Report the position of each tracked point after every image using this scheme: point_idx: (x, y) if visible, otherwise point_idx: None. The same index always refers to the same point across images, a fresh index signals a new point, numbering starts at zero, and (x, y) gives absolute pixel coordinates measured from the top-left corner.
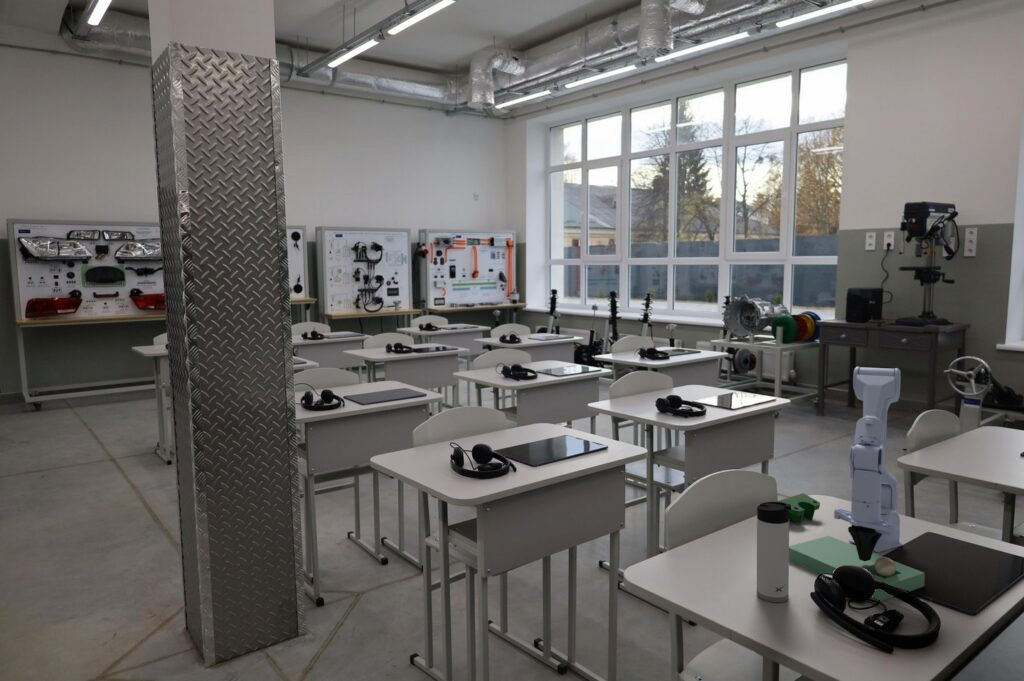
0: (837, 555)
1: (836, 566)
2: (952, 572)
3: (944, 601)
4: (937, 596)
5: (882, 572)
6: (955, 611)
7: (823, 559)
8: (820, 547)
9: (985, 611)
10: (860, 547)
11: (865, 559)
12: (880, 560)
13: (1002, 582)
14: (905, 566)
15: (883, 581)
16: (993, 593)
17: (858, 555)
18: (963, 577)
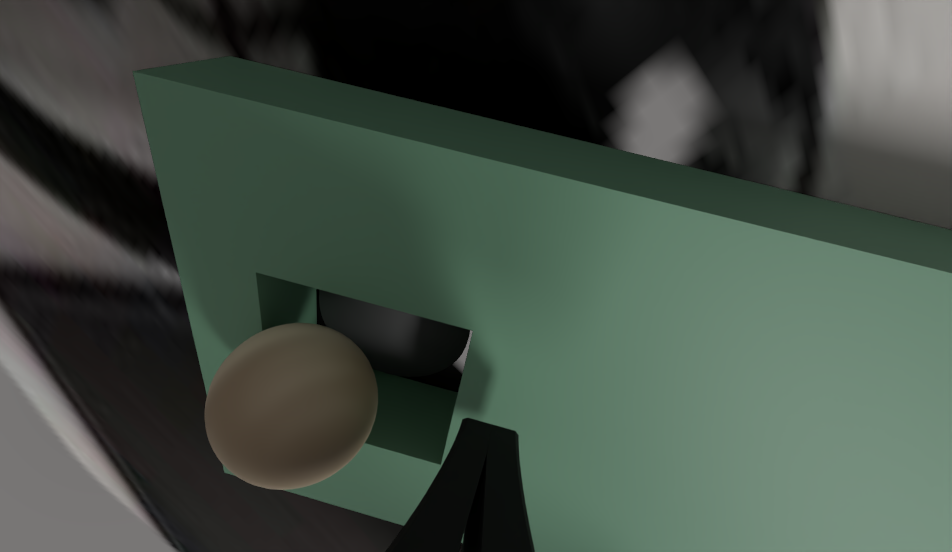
0: (732, 453)
1: (665, 240)
2: (308, 549)
3: (125, 323)
4: (175, 352)
5: (282, 328)
6: (25, 256)
7: (847, 317)
8: (919, 518)
9: (12, 335)
10: (479, 546)
11: (457, 436)
12: (264, 422)
13: (192, 544)
14: (323, 494)
15: (220, 218)
16: (137, 474)
17: (515, 459)
18: (265, 532)
